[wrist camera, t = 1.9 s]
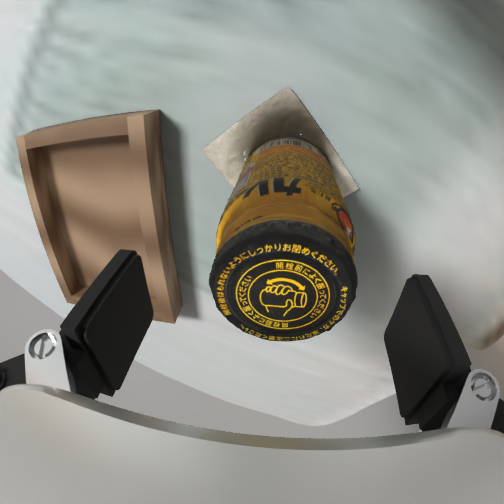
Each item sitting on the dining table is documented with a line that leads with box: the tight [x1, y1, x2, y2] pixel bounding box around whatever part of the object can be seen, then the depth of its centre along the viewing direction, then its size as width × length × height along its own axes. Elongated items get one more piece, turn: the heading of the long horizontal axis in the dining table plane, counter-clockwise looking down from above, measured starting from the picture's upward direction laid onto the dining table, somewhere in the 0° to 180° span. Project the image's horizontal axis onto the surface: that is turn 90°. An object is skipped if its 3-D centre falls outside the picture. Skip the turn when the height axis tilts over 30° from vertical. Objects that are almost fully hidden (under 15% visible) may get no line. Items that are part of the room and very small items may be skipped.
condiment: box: [202, 86, 359, 341], centre depth 14 cm, size 7×8×12 cm
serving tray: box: [16, 110, 182, 324], centre depth 22 cm, size 18×13×2 cm
